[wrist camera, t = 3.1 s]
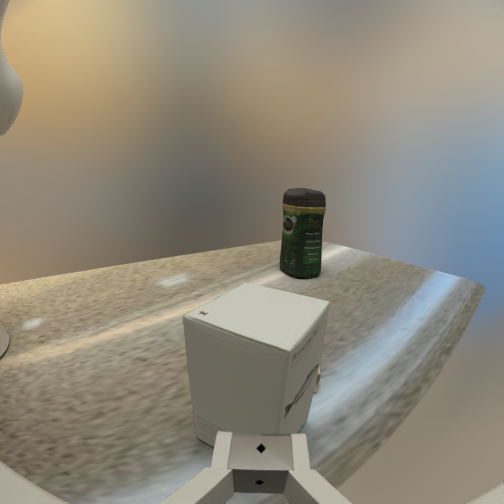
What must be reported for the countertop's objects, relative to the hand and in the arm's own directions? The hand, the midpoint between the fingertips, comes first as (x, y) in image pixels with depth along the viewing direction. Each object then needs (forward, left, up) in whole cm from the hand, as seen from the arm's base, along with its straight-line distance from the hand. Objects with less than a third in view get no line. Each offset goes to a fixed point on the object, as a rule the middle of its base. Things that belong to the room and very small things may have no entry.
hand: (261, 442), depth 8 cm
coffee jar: (+26, +49, -12) cm, 57 cm away
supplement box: (+3, +10, -12) cm, 16 cm away
